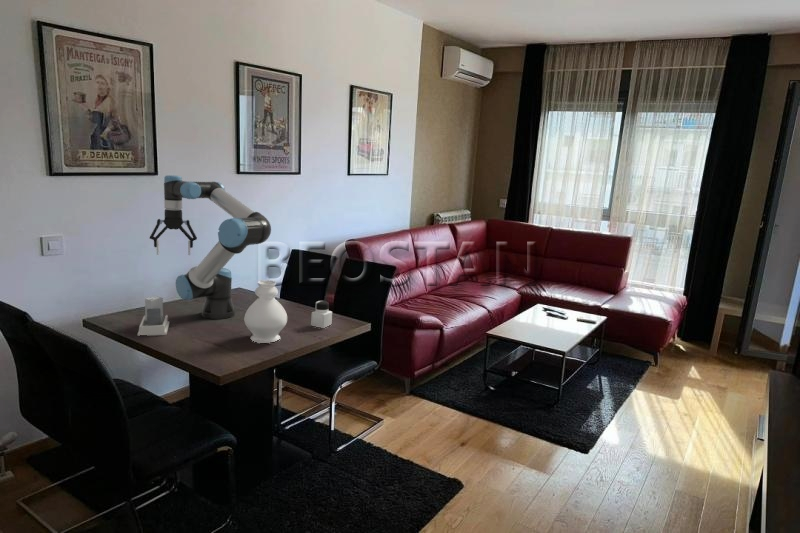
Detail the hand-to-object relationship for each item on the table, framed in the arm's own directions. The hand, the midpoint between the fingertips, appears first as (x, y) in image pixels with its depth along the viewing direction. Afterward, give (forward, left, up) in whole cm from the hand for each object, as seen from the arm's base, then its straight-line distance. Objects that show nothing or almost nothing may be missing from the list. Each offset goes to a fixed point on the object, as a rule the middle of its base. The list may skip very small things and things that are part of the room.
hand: (173, 254), depth 249 cm
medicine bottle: (-66, +27, -29) cm, 77 cm away
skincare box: (+7, +20, -28) cm, 35 cm away
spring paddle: (+7, +24, -27) cm, 37 cm away
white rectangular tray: (+7, +24, -29) cm, 38 cm away
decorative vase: (-39, +42, -29) cm, 64 cm away
